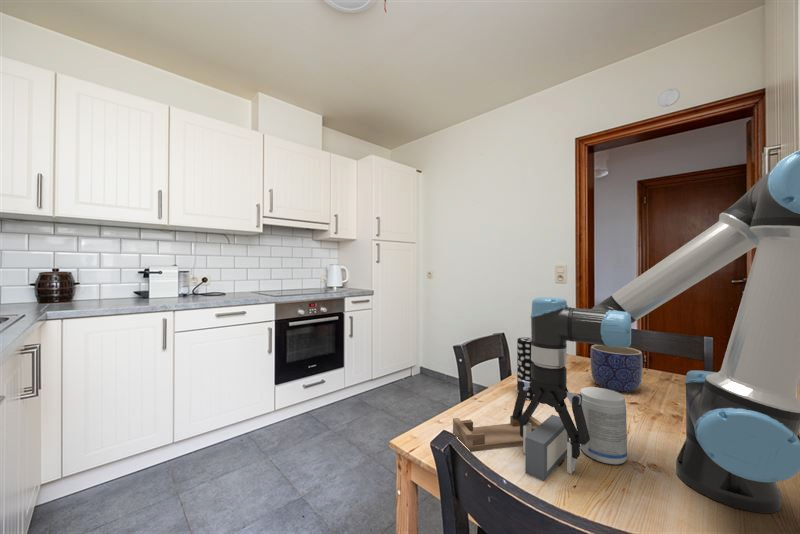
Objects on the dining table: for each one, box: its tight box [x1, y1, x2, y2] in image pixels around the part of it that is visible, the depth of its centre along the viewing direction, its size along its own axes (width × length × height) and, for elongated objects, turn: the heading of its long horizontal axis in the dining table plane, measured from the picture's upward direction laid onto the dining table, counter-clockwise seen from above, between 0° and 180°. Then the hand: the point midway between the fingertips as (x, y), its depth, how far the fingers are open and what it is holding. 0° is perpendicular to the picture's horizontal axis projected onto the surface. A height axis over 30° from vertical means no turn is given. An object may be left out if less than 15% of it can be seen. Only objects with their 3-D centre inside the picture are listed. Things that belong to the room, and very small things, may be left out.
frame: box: [524, 414, 570, 482], centre depth 74 cm, size 4×16×8 cm, turn 135°
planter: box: [590, 344, 643, 394], centre depth 123 cm, size 17×17×15 cm
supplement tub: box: [579, 386, 628, 465], centre depth 77 cm, size 10×10×15 cm
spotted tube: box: [516, 337, 534, 401], centre depth 114 cm, size 8×8×20 cm
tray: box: [452, 410, 543, 453], centre depth 84 cm, size 9×22×4 cm, turn 103°
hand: (548, 460), depth 74 cm, fingers open, 9 cm apart
